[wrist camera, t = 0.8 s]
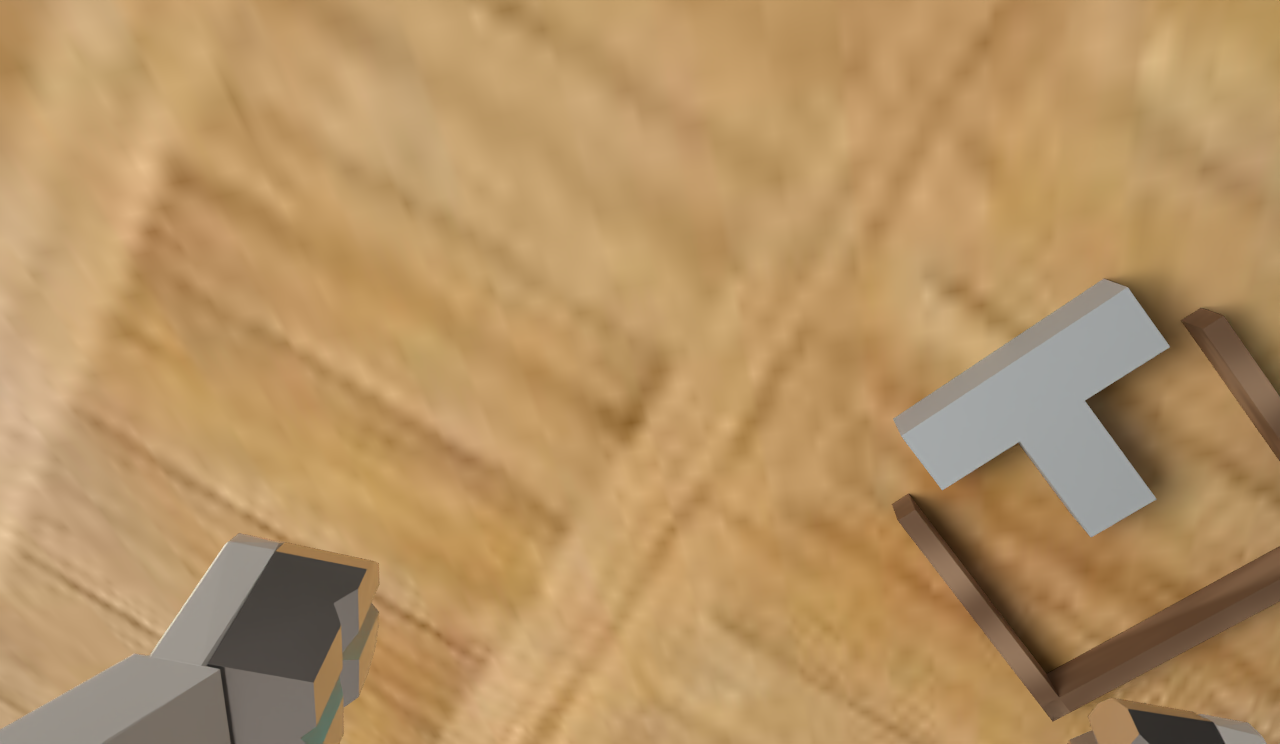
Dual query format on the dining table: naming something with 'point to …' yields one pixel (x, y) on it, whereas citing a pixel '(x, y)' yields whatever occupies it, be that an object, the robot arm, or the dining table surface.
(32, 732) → the robot arm
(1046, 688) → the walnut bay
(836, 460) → the dining table surface
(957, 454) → the T-block
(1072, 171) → the dining table surface
